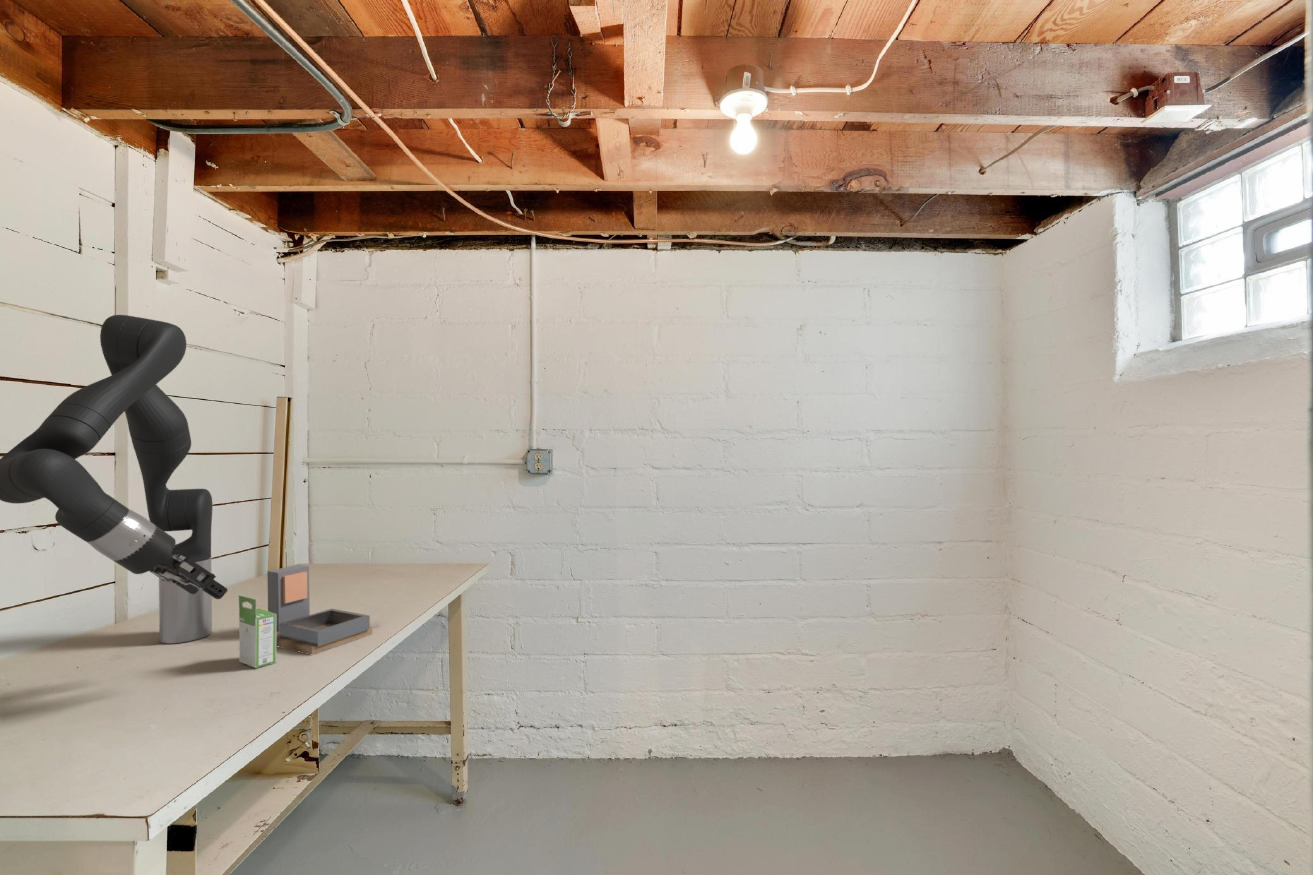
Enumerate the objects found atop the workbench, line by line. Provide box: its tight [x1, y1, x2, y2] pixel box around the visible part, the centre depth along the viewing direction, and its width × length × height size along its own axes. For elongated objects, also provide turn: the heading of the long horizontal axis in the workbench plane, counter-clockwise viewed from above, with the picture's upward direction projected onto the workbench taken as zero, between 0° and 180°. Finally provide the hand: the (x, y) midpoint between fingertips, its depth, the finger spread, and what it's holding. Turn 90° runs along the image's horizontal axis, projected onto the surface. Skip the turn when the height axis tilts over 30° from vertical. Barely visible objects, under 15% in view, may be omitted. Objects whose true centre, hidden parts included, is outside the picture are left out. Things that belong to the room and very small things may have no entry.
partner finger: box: [267, 564, 311, 631], centre depth 133 cm, size 5×7×13 cm
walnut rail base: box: [276, 623, 373, 655], centre depth 130 cm, size 22×14×2 cm, turn 64°
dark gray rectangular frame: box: [280, 608, 371, 646], centre depth 129 cm, size 19×12×3 cm, turn 64°
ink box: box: [238, 595, 277, 669], centre depth 115 cm, size 7×4×13 cm, turn 58°
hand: (210, 592), depth 108 cm, fingers open, 8 cm apart
